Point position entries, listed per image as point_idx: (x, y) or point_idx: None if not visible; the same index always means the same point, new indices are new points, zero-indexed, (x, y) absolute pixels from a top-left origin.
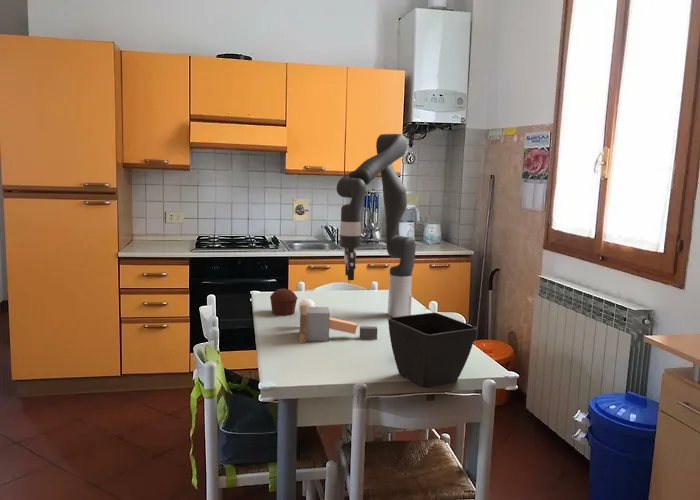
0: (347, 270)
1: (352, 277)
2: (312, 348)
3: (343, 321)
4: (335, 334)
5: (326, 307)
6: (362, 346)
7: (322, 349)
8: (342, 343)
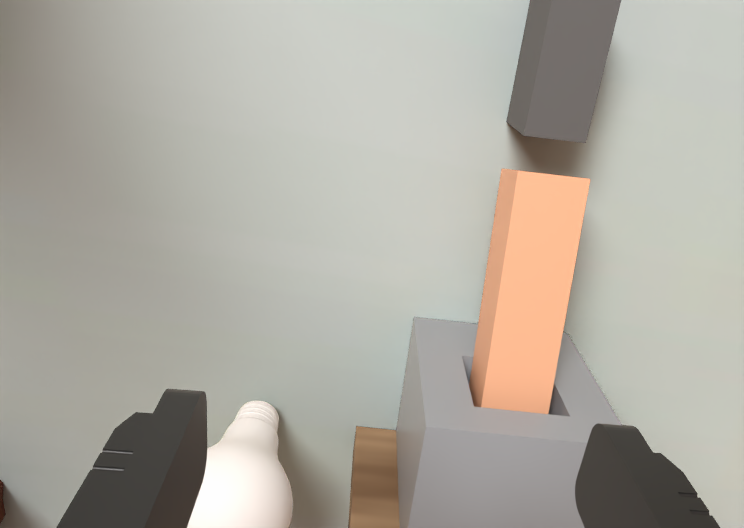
0: (182, 514)
1: (681, 484)
2: (679, 430)
3: (537, 284)
4: (427, 270)
5: (437, 441)
6: (726, 151)
7: (711, 387)
8: (629, 263)
